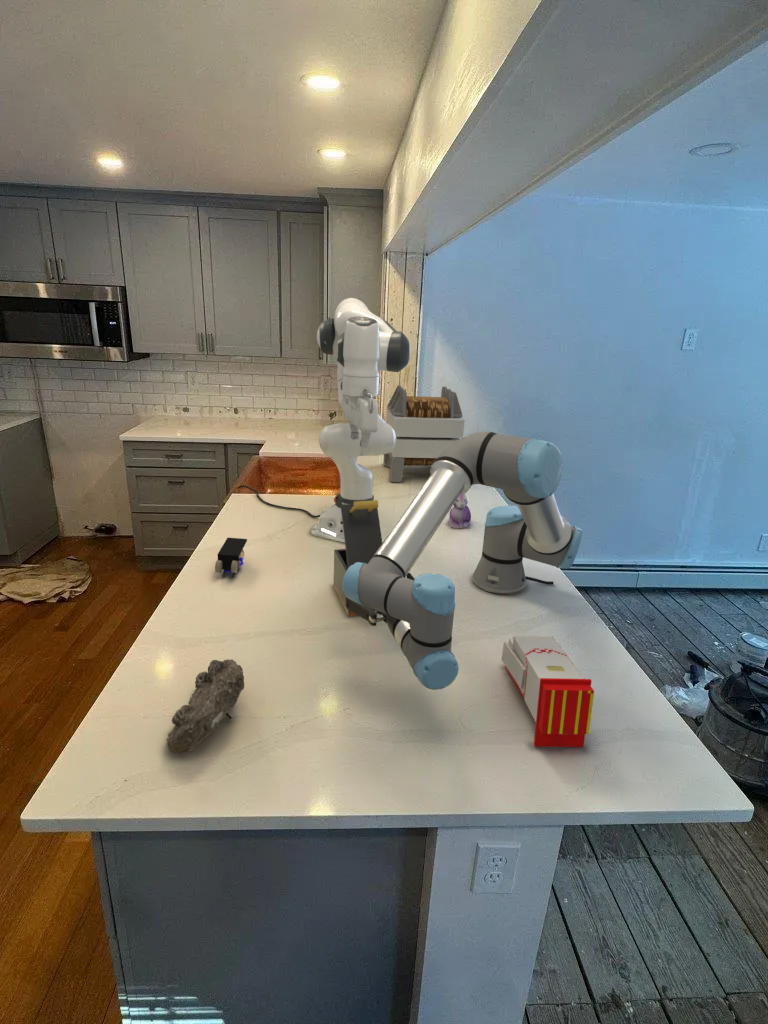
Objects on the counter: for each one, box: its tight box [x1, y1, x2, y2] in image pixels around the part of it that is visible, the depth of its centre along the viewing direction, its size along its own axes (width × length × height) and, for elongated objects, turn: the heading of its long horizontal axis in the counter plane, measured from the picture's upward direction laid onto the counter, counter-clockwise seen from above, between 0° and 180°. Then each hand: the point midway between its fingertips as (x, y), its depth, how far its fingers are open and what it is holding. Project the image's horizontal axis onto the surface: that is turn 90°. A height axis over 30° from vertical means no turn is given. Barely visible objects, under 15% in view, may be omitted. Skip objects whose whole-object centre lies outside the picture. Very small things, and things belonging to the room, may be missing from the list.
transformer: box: [383, 384, 465, 483], centre depth 268 cm, size 34×33×41 cm
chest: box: [333, 548, 358, 617], centre depth 153 cm, size 18×10×11 cm, turn 17°
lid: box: [341, 499, 383, 568], centre depth 141 cm, size 18×10×8 cm
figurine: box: [448, 493, 472, 529], centre depth 208 cm, size 9×10×15 cm
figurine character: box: [214, 537, 248, 578], centre depth 166 cm, size 7×8×15 cm
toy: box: [501, 635, 595, 748], centre depth 115 cm, size 12×13×30 cm
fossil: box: [166, 658, 245, 754], centre depth 106 cm, size 22×10×15 cm
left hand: (359, 443), depth 143 cm, fingers open, 8 cm apart
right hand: (380, 580), depth 131 cm, fingers open, 13 cm apart
